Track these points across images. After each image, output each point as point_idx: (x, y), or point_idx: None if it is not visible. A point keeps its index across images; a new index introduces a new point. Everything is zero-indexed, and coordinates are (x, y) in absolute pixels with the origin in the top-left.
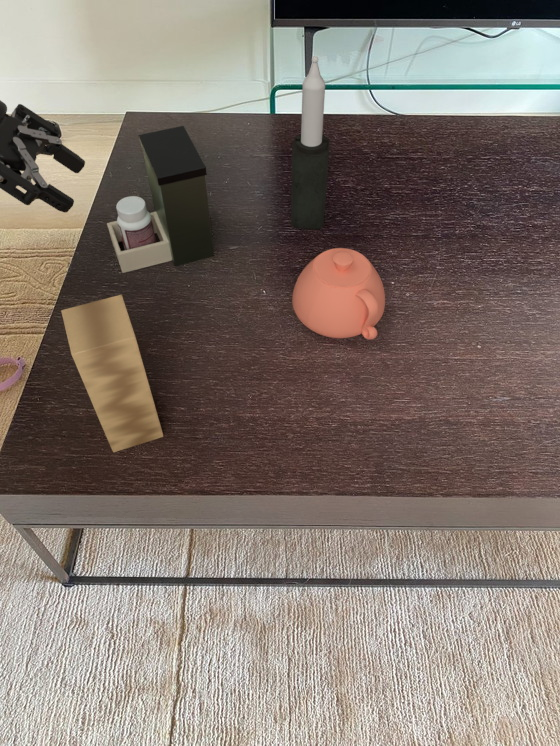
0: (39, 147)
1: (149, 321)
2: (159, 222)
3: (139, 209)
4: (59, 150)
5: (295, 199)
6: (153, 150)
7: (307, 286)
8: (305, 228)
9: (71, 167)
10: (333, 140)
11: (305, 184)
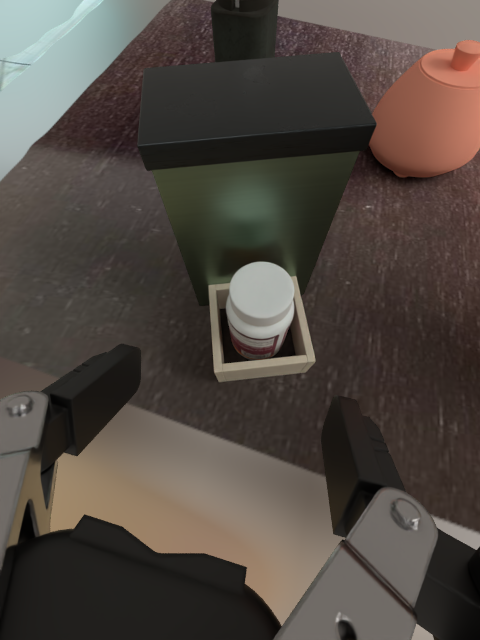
0: (89, 521)
1: (421, 344)
2: None
3: (283, 273)
4: (74, 412)
5: None
6: (235, 122)
7: (470, 114)
8: None
9: (125, 394)
10: (114, 106)
11: None
